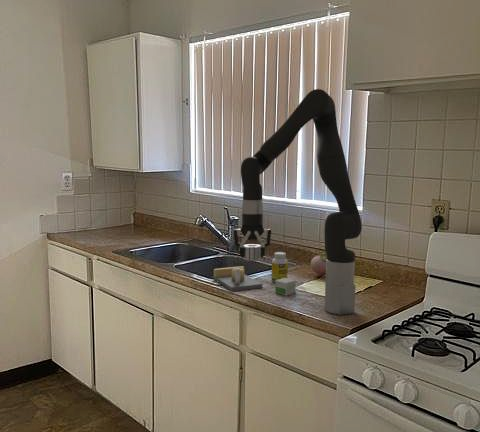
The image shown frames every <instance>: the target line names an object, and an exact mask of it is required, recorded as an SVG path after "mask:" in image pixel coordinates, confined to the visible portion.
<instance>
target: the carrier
mask: <svg viewBox="0 0 480 432" xmlns="http://www.w3.org/2000/svg"><path fill="white" fill-rule="evenodd" d="M213 280H214V282H216V281H218V282H219V283H218V282H217V283H218V284H220V283H221V284H222V287H224V286H225V287H224V288H225V289H227V290H229V291H230V292H238V291H245V290H247V291H248V290H257V289H263V283H262V282H259V281H258V280H256V279H254V278H252V277H250V276H248V275H247V274H245V266H243V265H242V266H230V267H221V268H219V267H218V268H213ZM221 284H220V285H221Z"/></svg>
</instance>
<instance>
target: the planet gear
mask: <svg viewBox="0 0 480 432" xmlns="http://www.w3.org/2000/svg"><path fill="white" fill-rule="evenodd" d="M243 248H244V258H242V259H243V260H244V261H249V262H257V261H261V260H262V258H261V244H257V243H256V244H255V243H248V244H244V246H243Z"/></svg>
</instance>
